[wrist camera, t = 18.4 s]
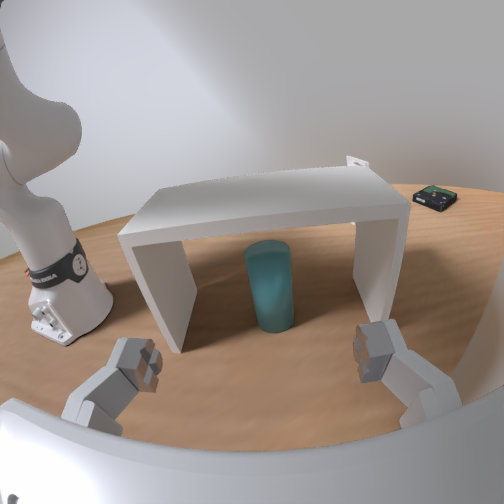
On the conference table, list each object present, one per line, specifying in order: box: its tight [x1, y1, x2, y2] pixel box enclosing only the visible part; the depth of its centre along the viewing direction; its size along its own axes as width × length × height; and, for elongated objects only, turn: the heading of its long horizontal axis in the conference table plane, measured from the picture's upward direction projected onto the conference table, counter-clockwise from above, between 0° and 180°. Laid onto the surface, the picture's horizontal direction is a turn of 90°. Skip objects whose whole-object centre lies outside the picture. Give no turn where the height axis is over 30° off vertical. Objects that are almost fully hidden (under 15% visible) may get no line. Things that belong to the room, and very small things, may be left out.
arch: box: [117, 165, 411, 353], centre depth 36 cm, size 30×14×20 cm, turn 88°
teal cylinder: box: [245, 240, 294, 333], centre depth 37 cm, size 6×6×12 cm
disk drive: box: [413, 185, 457, 212], centre depth 66 cm, size 10×3×15 cm
